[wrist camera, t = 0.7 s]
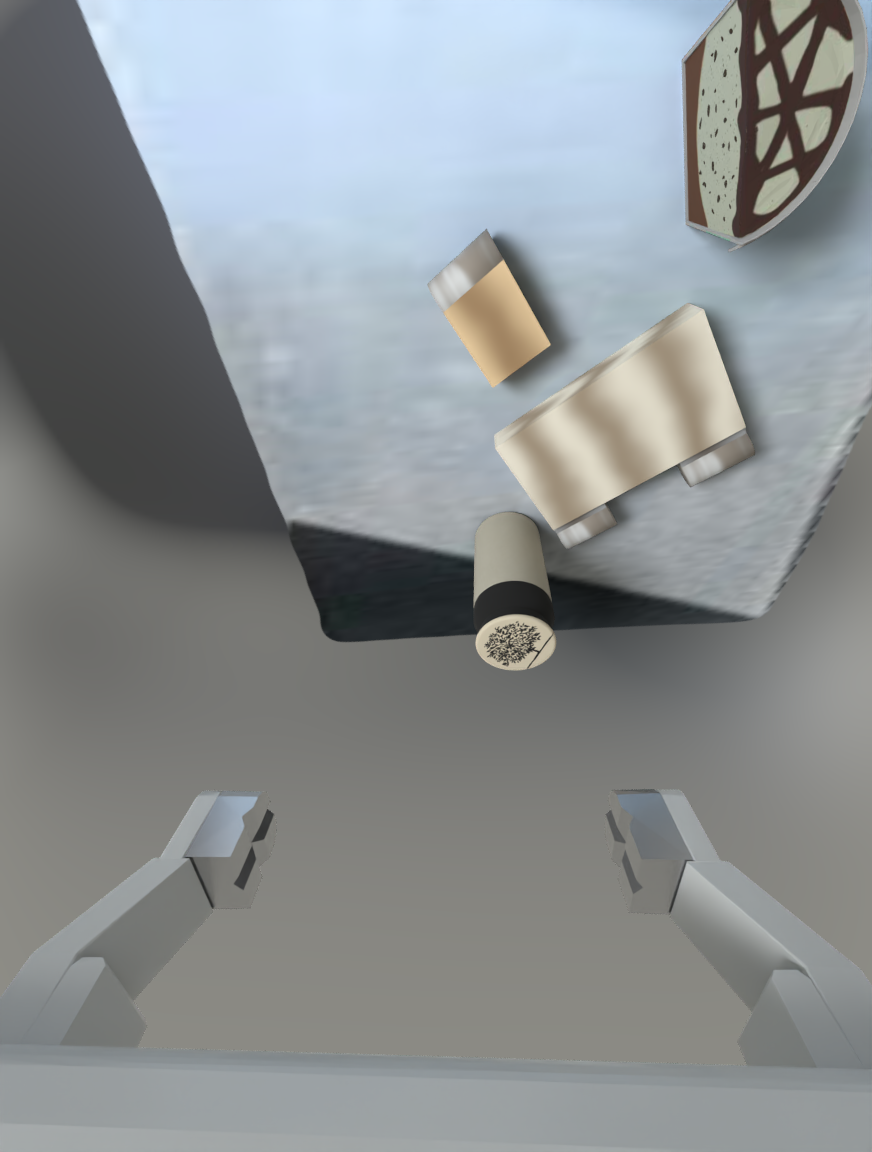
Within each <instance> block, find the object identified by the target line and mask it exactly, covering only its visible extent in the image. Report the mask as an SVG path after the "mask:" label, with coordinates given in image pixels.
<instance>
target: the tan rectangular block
mask: <svg viewBox="0 0 872 1152" xmlns="http://www.w3.org/2000/svg"><path fill="white" fill-rule="evenodd" d="M428 288H429V290H430V292H431V294H432V296H433V297H434V299H435V301H436V302H437V304H438V306H439V307H440V309H441V310H442V312H443V313H444V314H445V316H446V317H447V319H448V321H449V322H450V324H451V325H452V327H453V328H454V330H455V331H456V333H457V334H458V336H459V337H460V339H461V340H462V342H463V343H464V345H465V346H466V348H467V349H468V351H469V352H470V354H471V355H472V357H473V358H474V360H475V362H476V363H477V365H478V366H479V368H480V369H481V371H482V372H483V374H484V375H485V377H486V378H487V380H488V381H489V383H490V384H491V386H492V387H495V386H496V385H497V384H499V383H500V382H501V381H503V380H504V379H505V378H507V377H508V376H509V375H511V374H512V373H514V372H515V371H516V370H518V369H519V368H520V367H522V366H523V365H524V364H526V363H527V362H528V361H530V360H531V359H532V358H534V357H535V356H537V355H538V354H539V353H541V352H542V351H543V350H545V349H546V348H547V347H549V346H550V345H551V344H550V342H549V340H548V339H547V337H546V335H545V333H544V331H543V330H542V328H541V326H540V324H539V322H538V321H537V319H536V317H535V315H534V313H533V312H532V310H531V308H530V306H529V304H528V303H527V301H526V299H525V297H524V295H523V294H522V292H521V290H520V288H519V286H518V285H517V283H516V281H515V279H514V277H513V276H512V274H511V272H510V270H509V268H508V267H507V265H506V263H505V261H504V259H503V258H502V256H501V254H500V252H499V250H498V249H497V247H496V245H495V243H494V241H493V240H492V238H491V236H490V234H489V232H488V231H487V229H486V230H485V231H484V232H483V233H481V234H480V235H479V236H478V237H477V238H476V239H475V240H474V241H473V242H472V243H471V244H470V245H469V246H468V247H466V248H465V249H464V250H463V251H462V252H461V253H460V254H459V255H458V256H457V257H456V258H455V259H454V260H453V261H451V262H450V263H449V264H448V265H447V266H446V267H445V268H444V269H443V270H442V271H441V272H440V273H439V274H438V275H436V276H435V277H434V278H433V279H432V280H431V281H430V282H429V283H428Z"/></svg>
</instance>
